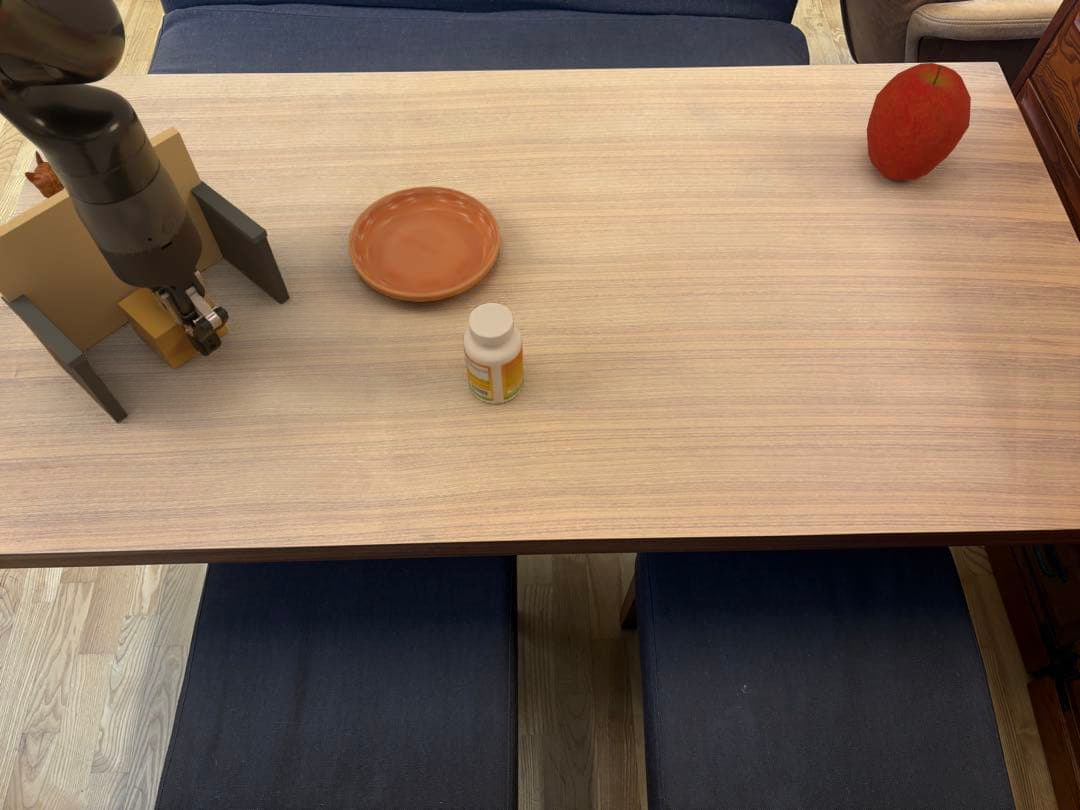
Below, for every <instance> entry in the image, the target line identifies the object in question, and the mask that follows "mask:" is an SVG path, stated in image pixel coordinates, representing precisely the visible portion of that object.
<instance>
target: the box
mask: <svg viewBox="0 0 1080 810" xmlns="http://www.w3.org/2000/svg"><path fill="white" fill-rule="evenodd" d="M208 297H209V299H210V301H211V306H210V307H213V306H214V305H216V304H215V302H214V300H213V299H212V298H211V297H210V296H209V295H208ZM118 305H119V307H120V308H121V310H122V311H123V313H124V314H125V316H126V318H127V319H128V322H129V324H130V325H131V327H132V328H133V330H134V332H135V333H136V335H137V336H138V337H139V338H140V339H141V340H143V342H144V343H146V345H148V346H149V347H150V349H152V350H153V351H154V352H155V353H156V354H157V355H158V356H159V357H161V359H163V360H164V362H165V363H167V364H168V365H169V366H170V367H171V368H172V369H173V370H176V369H177V368H179V367H180V366H181V365H183V364H184V363H186V362H187V361H189V360H190V359H192V358H193V357H194V356H196V355H197V354H199V352H198V351H197V350H196V349H195V348H194V347H193V345H192V343H191V342H190V340H189V338H188V337H187V335H186V333H185V331H184V330H183V328H182V327H180V326H179V325H177V324H176V323H175V320H174V318H172V316H171V315H170V313H167V312H166V311H165V310H163V309H162V308H161V307H160V306H159V305H158V303H157V301H156V300H155V298H154V297H153V295H152V294H151V293H150V291H149V290H147V289H146V288H140V289H139V290H137V291H136V292H134V293H132V294H131V295H129V296H128V297H126V298H125V299H123V300H122V301H120V302H119V303H118ZM216 333H217V335H218V336H219V338H220V339H221V337H223V336H224V335H225V334H227V333H229V330H228V329H227V326H226V324H225V325H224V326H223V328H221V329H220V330H217V331H216Z"/></svg>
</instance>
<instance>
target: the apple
mask: <svg viewBox="0 0 1080 810" xmlns="http://www.w3.org/2000/svg"><path fill="white" fill-rule="evenodd" d="M971 103H972V98H971V95H970V92H969V90H968V88H967V86H966V84H965V82H964V79H963V77H962V76H961V75H960V74H959V73H958V72H957V71H956V70H955V69H953V68H950V67H948V66H946V65H944V64H939V63H934V62H923V63H918V64H916V65H913V66H911V67H909V68H907V69H904V70H902V71H900V72H898V73H897V74H895V75H894V76H893V77H892V78H891V79H890V80H889V81H888V82H887V83H886V84H885V85H884V86H883V88H881V90H880V91H879V92H878V93H877V94H876V96H875V98H874V101H873V105H872V109H871V111H870V115H869V117H868V122H867V126H866V142H867V156H868V159H869V160H870V164H871V165H872V166H873V167H874V168H875V169H876V170H877V171H878V172H879V173H880V175H882V176H883V178H886V179H888V180H891V181H900V182H901V181H903V182H905V181H913V180H918V179H920V178H923V177H924V176H927V175H928V174H929V173H930V172H932V171H933V170H934V169H935V168H937V166H939V164H941V163H942V162H943V161H944V160H945V159H946V158H947V157H948V156H950V154H951V153H952V152H953V151H954V150H955V149H956V148H957V146H958V144H959V143H960V141H961V139H962V138H963V137H964V135H965V134H966V132H967V131H968V129H969V127H970V121H971V105H972V104H971Z"/></svg>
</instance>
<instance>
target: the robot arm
mask: <svg viewBox="0 0 1080 810" xmlns="http://www.w3.org/2000/svg"><path fill="white" fill-rule="evenodd" d="M125 47H126V32H125V25H124V21H123V18H122V15H121V13H120V10H119V7H118V6H117V4H116V2H115V1H114V0H0V116H2V117H3V118H4V119H5V120H6V121H8V122H9V123H10V124H11V125H12V126H13V127H14V128H15V129H16V130H17V131H18V132H19V133H20V134H21V135H22V136H24V137H25V138H26V139H27V140H28V141H29V142H31V144H33V145H34V146H35V147H36V148H37V149H38V150H40V152H41V154H43V156H44V158H45V159H46V162H48V163H49V164H50V166H51V167H52V169H53V170H54V172H55V174H56V175H57V177H58V178H59V180H60V182H61V183H62V185H63V186H64V189H65V190H66V191H67V193H68V195H69V197H70V199H71V201H72V204H73V206H74V209H75V211H76V213H77V215H78V217H79V218H80V220H81V222H82V223H83V225H84V226H85V228H86V230H87V231H88V233H89V234H90V236H91V238H92V239H93V241H94V242H95V244H96V245H97V247H98V249H99V250H100V252H101V253H102V255H103V256H104V258H105V260H106V261H107V263H108V264H109V266H110V268H111V269H112V271H113V272H114V274H115V275H116V276H117V277H118V278H119V279H120V280H121V281H123V282H124V283H126V284H129V285H131V286H135V287H140V288H146V289H147V290H149V291H150V293H151V294H152V295H153V297H154V298H155V300H156V301H157V303H158V305H159V306H160V307H161V308H162V309H163V310H165V311H166V312H167V313H170V315H171V316H172V318H174V320H175V323H176V324H177V325H179V326H180V327H182V328H183V330H184V331H185V333H186V335H187V337H188V338H189V340H190V342H191V343H192V345H193V347H194V348H195V349H196V350H197V351H198V354H200V355H201V356H202V357H205V358H206V357H209V356H210V355H211V354H213V353H214V352H215V351H217V350H218V349H219V348H221V346H222V344H223V342H222V340H221V337H220V338H219V336H218V335H217V333H216V331H217V330H220V329H221V328H223V326H224V325H225V326H226V323H228V320H229V319H230V315H229V312H228V311H227V310H226V309H225V308H224V307H223V306H218V305H217V304H215V305H214V306H213V307H210V306H211V301H210V299H209V297H210V296H209V295H208V293H207V290H206V288H205V284H206V283H205V280H204V277H203V275H202V273H200V272H199V271H198V270H197V269H196V265H197V263H198V261H199V259H200V256H201V253H202V241H201V238H200V236H199V233H198V231H197V229H196V227H195V225H194V223H193V221H192V219H191V217H190V215H189V213H188V211H187V209H186V207H185V205H184V202H183V200H182V198H181V196H180V194H179V192H178V190H177V188H176V186H175V184H174V182H173V180H172V178H171V176H170V175H169V173H168V172H167V170H166V169H165V167H164V166H163V165H162V163H161V162H160V160H159V158H158V157H157V154H156V152H155V150H154V148H153V146H152V144H151V142H150V140H149V139H150V138H149V136H148V134H147V132H146V130H145V128H144V126H143V124H142V121H141V119H140V117H139V116H138V114H137V112H136V110H135V108H134V107H133V106H132V104H131V103H130V102H129V101H128V99H126V98H125V97H124V96H122V94H120V93H118V92H117V91H115V90H111V89H109V88H105V87H101V86H97V85H90V84H93V83H97V82H101V81H102V80H104V79H106V78H107V77H109V76H110V75H111V74H112V73H114V71H115V70H116V69H117V68H118V66H119V65H120V63H121V62H122V58H123V56H124V52H125ZM208 296H209V297H208Z"/></svg>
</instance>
